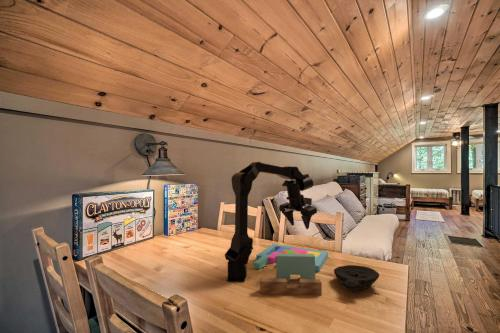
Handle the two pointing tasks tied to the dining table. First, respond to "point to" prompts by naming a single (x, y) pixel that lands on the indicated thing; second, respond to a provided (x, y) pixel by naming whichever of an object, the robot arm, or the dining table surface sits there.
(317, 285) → the walnut rail
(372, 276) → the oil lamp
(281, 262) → the teal plate
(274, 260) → the tetris game
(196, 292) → the dining table surface
